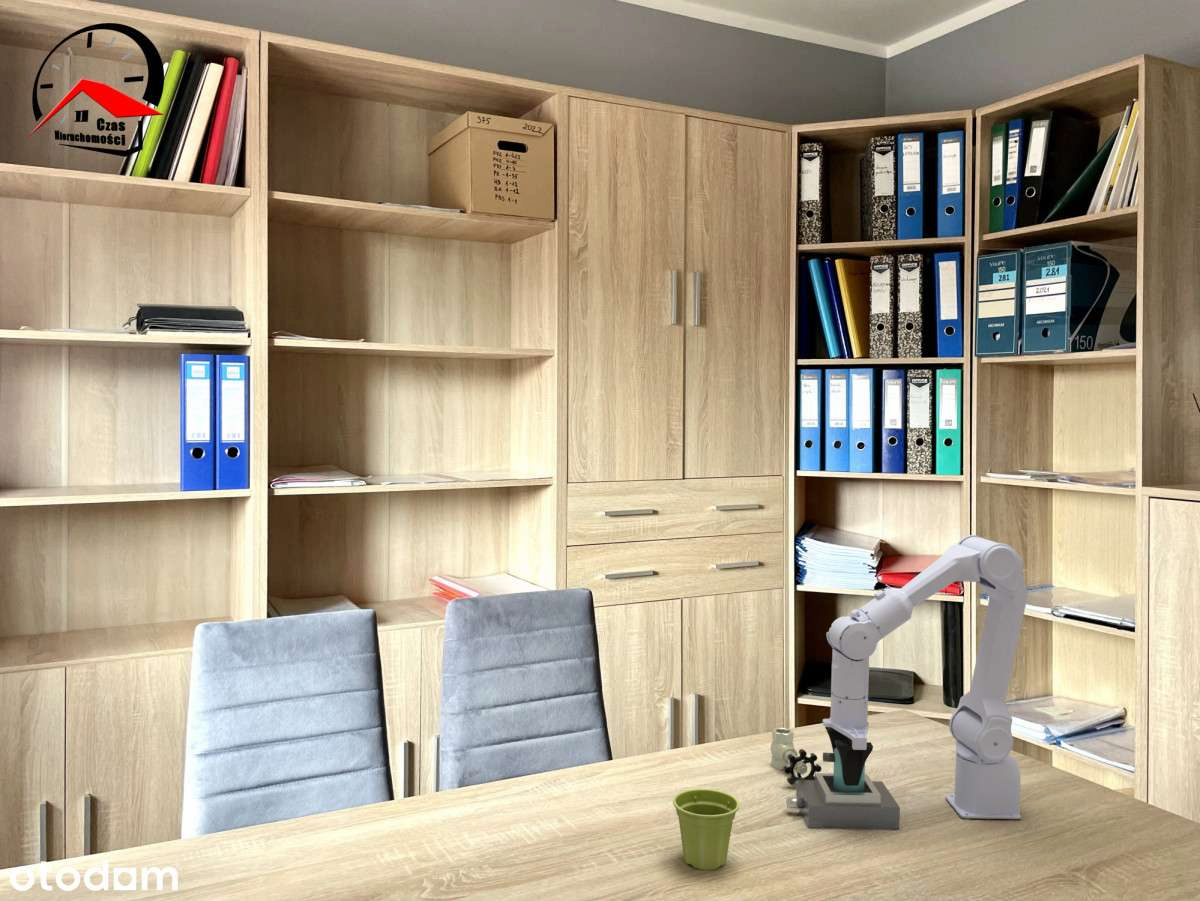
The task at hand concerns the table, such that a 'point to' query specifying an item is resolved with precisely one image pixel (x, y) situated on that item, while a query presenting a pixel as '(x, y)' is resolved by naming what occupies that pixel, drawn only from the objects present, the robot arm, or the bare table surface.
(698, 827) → the plant pot
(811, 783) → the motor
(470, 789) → the table surface
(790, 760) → the valve
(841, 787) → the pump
